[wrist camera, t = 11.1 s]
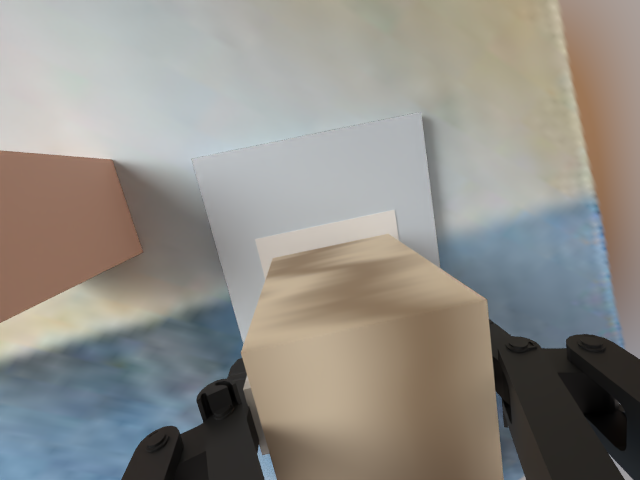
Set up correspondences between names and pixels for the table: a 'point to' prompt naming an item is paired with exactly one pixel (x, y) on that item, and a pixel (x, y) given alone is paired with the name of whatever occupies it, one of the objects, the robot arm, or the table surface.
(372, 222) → the white flat board
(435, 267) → the beech block
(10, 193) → the terracotta block
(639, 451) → the robot arm
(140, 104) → the table surface
